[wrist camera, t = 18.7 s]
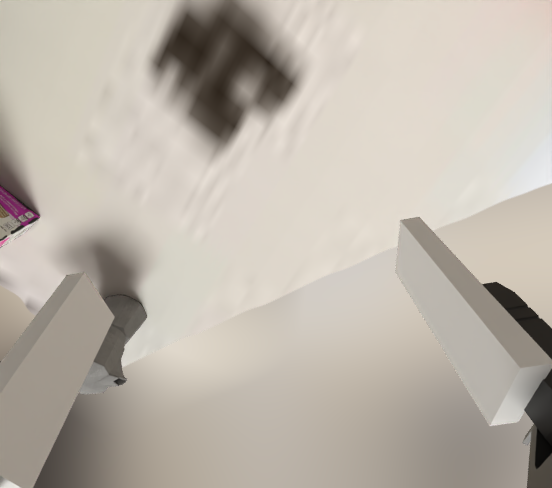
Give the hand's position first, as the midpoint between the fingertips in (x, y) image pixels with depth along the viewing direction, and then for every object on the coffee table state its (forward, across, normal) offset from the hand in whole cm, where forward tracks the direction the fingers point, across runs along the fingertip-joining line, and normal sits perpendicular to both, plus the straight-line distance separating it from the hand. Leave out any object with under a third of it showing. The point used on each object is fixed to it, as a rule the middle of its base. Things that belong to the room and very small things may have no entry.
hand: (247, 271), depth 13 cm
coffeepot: (+35, -33, -33) cm, 59 cm away
